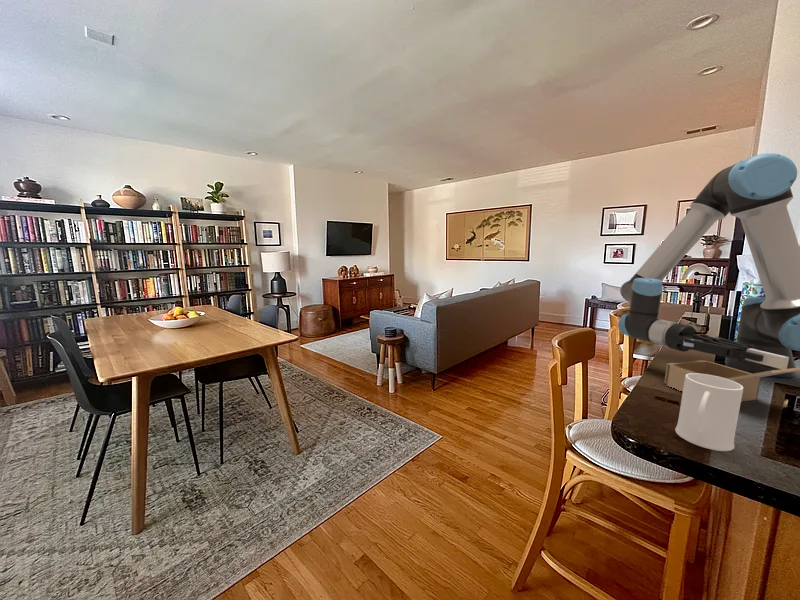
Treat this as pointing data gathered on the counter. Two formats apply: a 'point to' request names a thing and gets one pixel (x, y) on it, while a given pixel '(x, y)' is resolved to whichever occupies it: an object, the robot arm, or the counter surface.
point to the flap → (765, 374)
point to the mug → (709, 411)
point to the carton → (679, 371)
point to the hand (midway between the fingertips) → (785, 363)
